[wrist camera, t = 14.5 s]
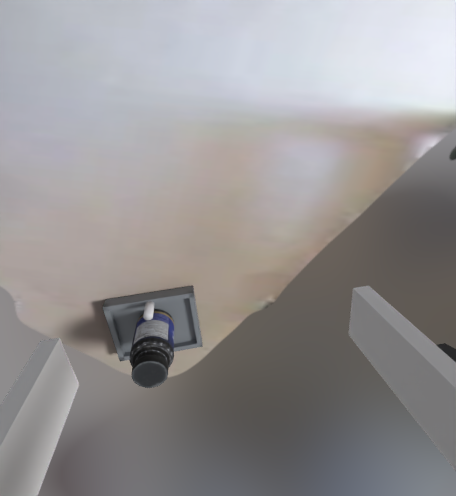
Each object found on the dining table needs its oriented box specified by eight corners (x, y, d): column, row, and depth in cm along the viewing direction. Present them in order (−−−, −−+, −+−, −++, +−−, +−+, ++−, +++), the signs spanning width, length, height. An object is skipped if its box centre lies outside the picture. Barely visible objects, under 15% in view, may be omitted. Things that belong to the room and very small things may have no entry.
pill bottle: (168, 340, 51) (165, 395, 41) (132, 334, 49) (120, 388, 39) (179, 311, 49) (179, 361, 39) (142, 303, 47) (132, 353, 37)
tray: (122, 351, 52) (116, 375, 47) (105, 299, 47) (97, 319, 42) (201, 337, 53) (203, 359, 48) (193, 285, 49) (194, 303, 44)
